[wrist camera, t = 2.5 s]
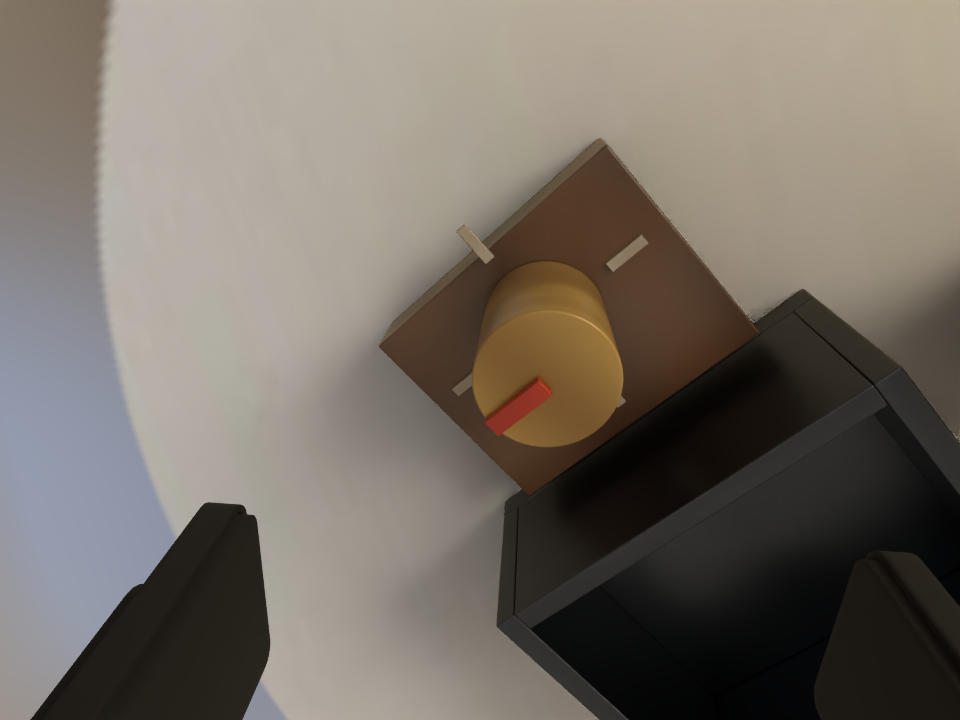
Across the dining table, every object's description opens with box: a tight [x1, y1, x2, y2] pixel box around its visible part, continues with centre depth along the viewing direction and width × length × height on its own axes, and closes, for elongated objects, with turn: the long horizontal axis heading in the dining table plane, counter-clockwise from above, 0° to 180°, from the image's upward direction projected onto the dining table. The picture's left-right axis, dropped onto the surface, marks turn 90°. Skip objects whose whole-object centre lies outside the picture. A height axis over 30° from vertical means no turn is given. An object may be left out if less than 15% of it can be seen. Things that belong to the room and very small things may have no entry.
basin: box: [497, 289, 960, 720], centre depth 25 cm, size 14×14×7 cm
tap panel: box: [379, 138, 759, 495], centre depth 24 cm, size 10×9×3 cm
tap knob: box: [472, 261, 623, 447], centre depth 20 cm, size 4×4×5 cm
